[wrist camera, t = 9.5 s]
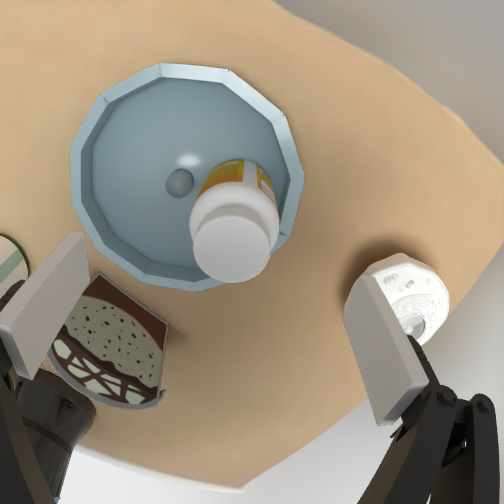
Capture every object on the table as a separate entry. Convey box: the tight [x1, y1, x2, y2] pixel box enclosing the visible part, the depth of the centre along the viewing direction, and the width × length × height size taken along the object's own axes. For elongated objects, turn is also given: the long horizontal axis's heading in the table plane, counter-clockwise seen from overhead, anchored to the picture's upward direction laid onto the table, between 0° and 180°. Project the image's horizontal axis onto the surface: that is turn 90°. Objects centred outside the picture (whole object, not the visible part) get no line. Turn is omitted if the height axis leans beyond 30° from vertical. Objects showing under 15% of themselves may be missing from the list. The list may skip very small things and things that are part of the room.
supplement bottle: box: [189, 158, 279, 283], centre depth 20 cm, size 5×5×10 cm
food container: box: [46, 271, 169, 410], centre depth 28 cm, size 12×6×10 cm, turn 44°
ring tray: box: [70, 63, 305, 292], centre depth 24 cm, size 18×18×3 cm
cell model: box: [344, 253, 450, 346], centre depth 27 cm, size 10×12×7 cm
